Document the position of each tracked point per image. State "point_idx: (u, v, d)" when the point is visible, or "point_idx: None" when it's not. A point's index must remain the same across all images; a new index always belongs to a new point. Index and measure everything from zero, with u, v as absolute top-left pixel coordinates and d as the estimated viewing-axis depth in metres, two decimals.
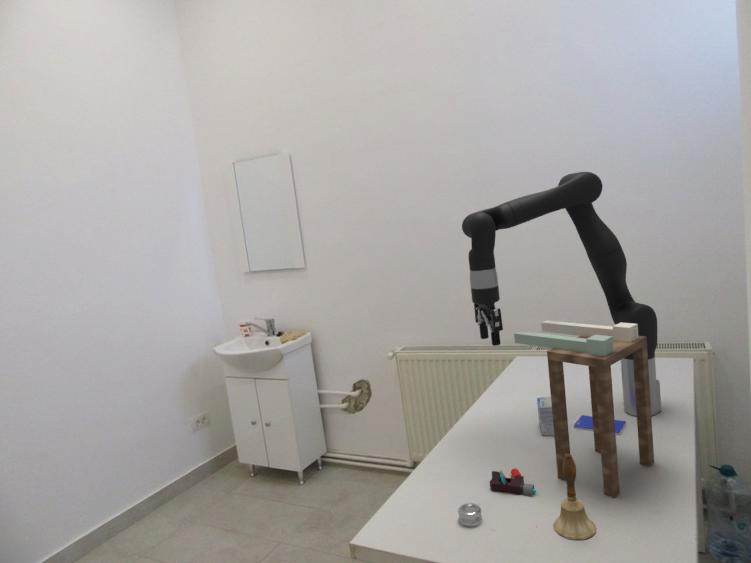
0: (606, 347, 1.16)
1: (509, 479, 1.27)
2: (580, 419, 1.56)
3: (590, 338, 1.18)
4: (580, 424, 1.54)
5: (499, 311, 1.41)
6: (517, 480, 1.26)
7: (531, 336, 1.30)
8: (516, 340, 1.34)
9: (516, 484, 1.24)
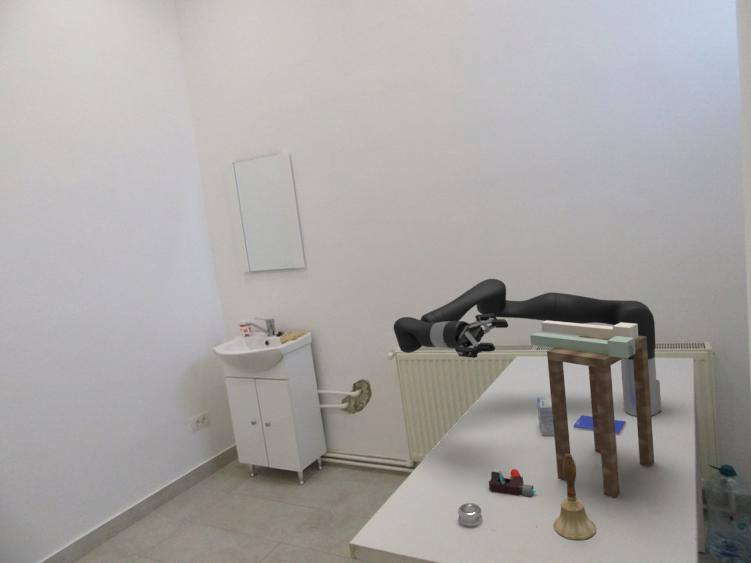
0: (628, 349, 1.12)
1: (508, 480, 1.27)
2: (580, 419, 1.56)
3: (611, 340, 1.15)
4: (579, 424, 1.54)
5: None
6: (516, 481, 1.26)
7: (548, 338, 1.27)
8: (532, 342, 1.30)
9: (515, 485, 1.24)
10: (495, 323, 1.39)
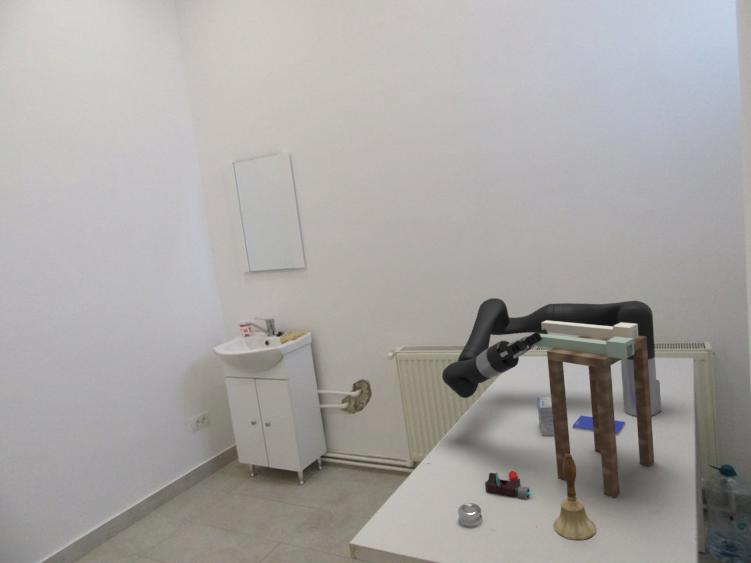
0: (627, 349, 1.12)
1: (505, 481, 1.27)
2: (579, 419, 1.56)
3: (610, 340, 1.14)
4: (578, 424, 1.54)
5: None
6: (513, 483, 1.25)
7: (547, 338, 1.27)
8: None
9: (510, 487, 1.24)
10: None
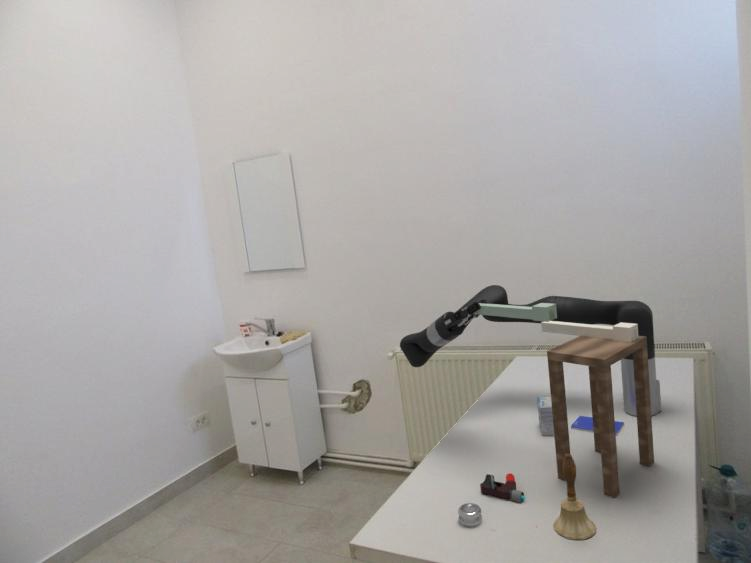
0: (549, 313, 1.25)
1: (500, 484, 1.26)
2: (578, 419, 1.56)
3: (535, 305, 1.27)
4: (577, 424, 1.53)
5: None
6: (508, 485, 1.24)
7: (485, 306, 1.40)
8: None
9: (505, 490, 1.23)
10: None
